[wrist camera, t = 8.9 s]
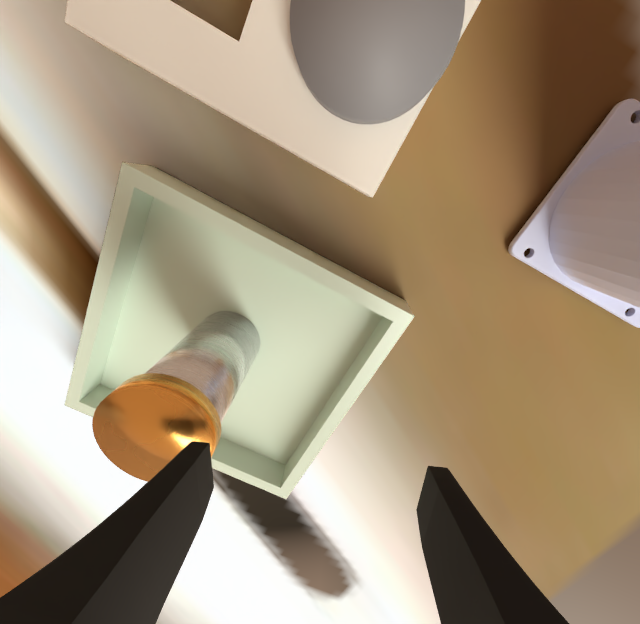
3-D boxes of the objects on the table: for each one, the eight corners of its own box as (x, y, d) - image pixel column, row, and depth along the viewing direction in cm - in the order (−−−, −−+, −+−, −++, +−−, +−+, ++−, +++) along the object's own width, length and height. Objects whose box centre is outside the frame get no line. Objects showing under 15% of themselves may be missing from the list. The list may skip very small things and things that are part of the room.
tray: (405, 300, 19) (414, 316, 16) (291, 469, 24) (286, 499, 22) (152, 165, 17) (122, 162, 14) (93, 382, 22) (64, 405, 20)
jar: (267, 312, 19) (211, 399, 11) (262, 376, 20) (211, 492, 13) (193, 300, 19) (84, 379, 11) (194, 365, 21) (100, 474, 13)
